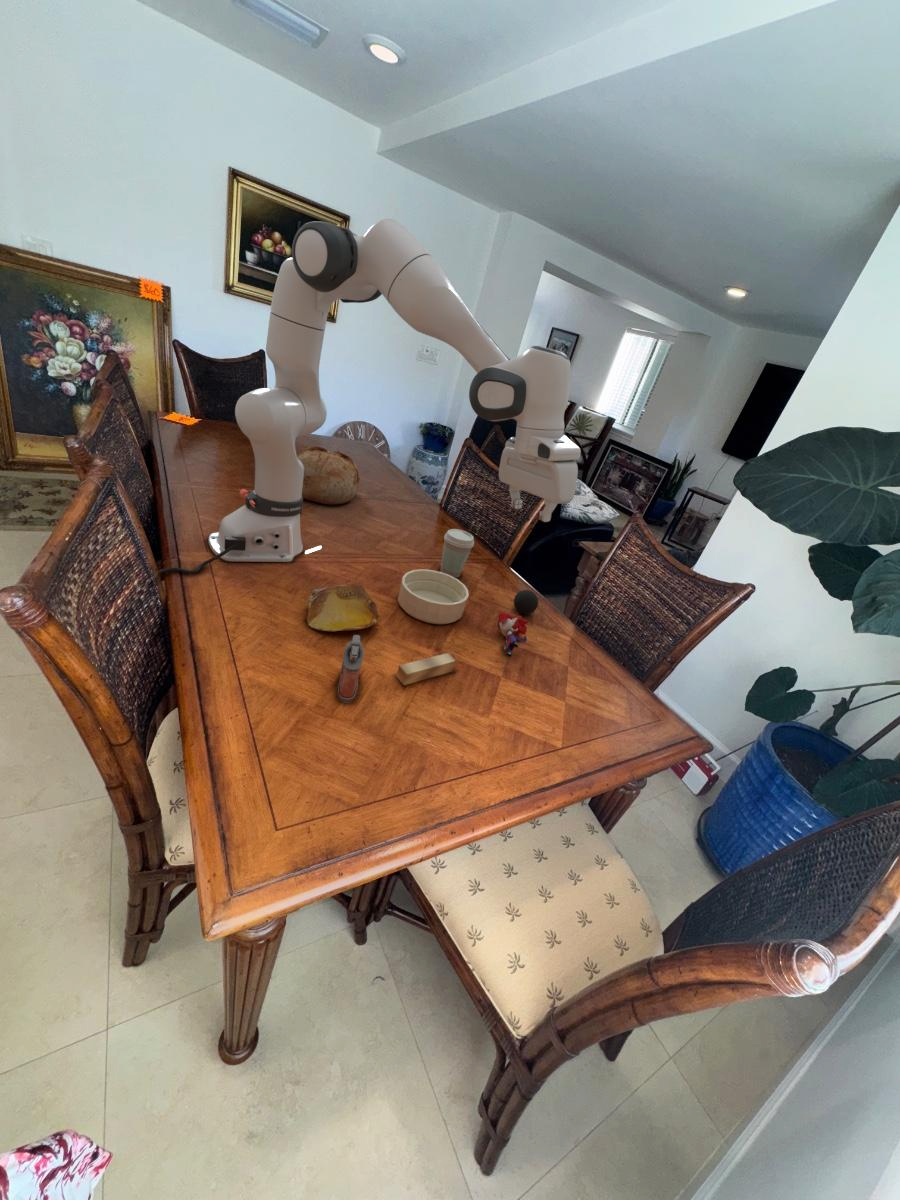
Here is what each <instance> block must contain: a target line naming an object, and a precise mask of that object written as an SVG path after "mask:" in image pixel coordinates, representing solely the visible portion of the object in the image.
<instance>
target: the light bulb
mask: <svg viewBox="0 0 900 1200" xmlns="http://www.w3.org/2000/svg"><path fill="white" fill-rule="evenodd" d="M513 606H514V608H515V610H516V611H517V612H518V613H520V614H523V615H530V614H533V613H534V612H535V611H536V610H537V609H538V606H539V598H538V595H537V594H536V593H535V592H534V591H533V590H530V589H523V590H520V591H518V592H517V593H516V594H515V596H514V597H513Z"/></svg>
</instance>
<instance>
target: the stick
mask: <svg viewBox="0 0 900 1200" xmlns="http://www.w3.org/2000/svg"><path fill="white" fill-rule="evenodd" d="M455 665H456V659H455V658H454V657H452V655H451V654H450V653H448V652H446V653H442V654H438V655H434V656H431V657H426V658H423V659H419V660H418V659H417V660H414V661H410V662H407V663H403V664H399V665H398V668H397V672H396V678H397V679H398V681H399V682H400V683H401V685H403V686H407V685H411V684H414V683H417V682H421V681H424V680H428V679H431V678H435V677H438V676H441V675H445V674H448V673H449V674H450V673H452V672H453V671H454V668H455Z"/></svg>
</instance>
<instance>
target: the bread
mask: <svg viewBox="0 0 900 1200" xmlns="http://www.w3.org/2000/svg"><path fill="white" fill-rule="evenodd" d="M297 458H298V459H299V460H300V461H301V462H302V464H303V466H304V478H303V487H302V496H303V500H304V499H305V500H307V501H309V502H314V503H317V504H322V505H331V506H332V505H333V506H334V505H336V506H337V505H341V504H345V503H348V502H350V501H352V500H353V499H354V498H355V497H356V494H357V492H358V490H359V488H360V483H361V476H360V471H359V468H358V466H357V465H356V463H355V461H354V460H353V458H352V457H351V456H350V455H348V454H347V453H344V452H342V451H340V450H337V451H332V452H331V451H329V450H328V448H327V447H325V446H319V445H312V446H309V447H307V448H304V449H303V450H302V451H301V452H300V453H299V454H297Z"/></svg>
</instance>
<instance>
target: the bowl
mask: <svg viewBox="0 0 900 1200" xmlns="http://www.w3.org/2000/svg"><path fill="white" fill-rule="evenodd" d="M469 597H470V595H469V589H468V588H467V586H466V585H465V584H464V583H463V582H462V581H461V580H459V579H458V578H454V577H452V576H450V575H448V574H445V573H442V572H441V571H438V570H432V569H425V568H423V569H421V568H419V569H413V570H410V571H407V572H406V573H405V574H403V576H402V577H401V582H400V586H399V591H398V595H397V603H398V604H399V606H400V608H401V609H403V611H404V612H405V613H406V614H407V615H409V616H411V617H412V618H414V619H416V620H419V621H420V622H425V623H427V624H432V625H447V624H451V623H454V622H456V621H459V620H460V619H461V618H462V617H463V615H464V613H465V610H466V607H467V603H468V600H469Z"/></svg>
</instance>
